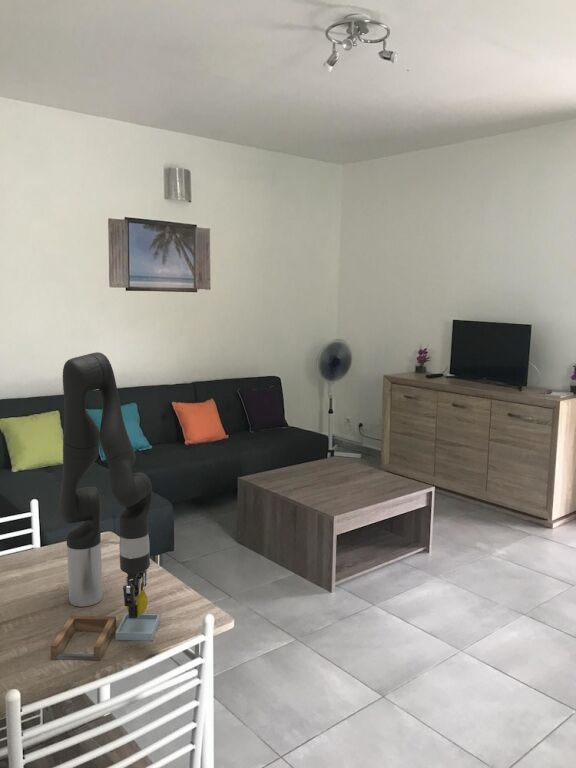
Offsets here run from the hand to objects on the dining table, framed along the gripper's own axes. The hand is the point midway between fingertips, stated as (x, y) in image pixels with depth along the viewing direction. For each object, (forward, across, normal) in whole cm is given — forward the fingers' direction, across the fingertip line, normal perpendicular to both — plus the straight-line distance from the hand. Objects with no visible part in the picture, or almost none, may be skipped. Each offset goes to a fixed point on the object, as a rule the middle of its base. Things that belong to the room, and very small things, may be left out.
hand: (136, 611), depth 165 cm
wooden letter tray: (+6, +6, -12) cm, 14 cm away
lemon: (+2, 0, 0) cm, 2 cm away
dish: (+6, -1, 0) cm, 6 cm away
